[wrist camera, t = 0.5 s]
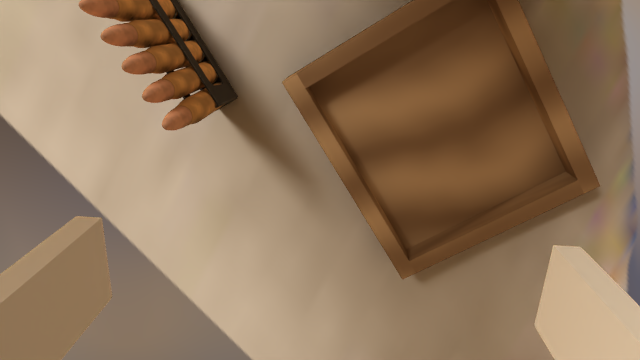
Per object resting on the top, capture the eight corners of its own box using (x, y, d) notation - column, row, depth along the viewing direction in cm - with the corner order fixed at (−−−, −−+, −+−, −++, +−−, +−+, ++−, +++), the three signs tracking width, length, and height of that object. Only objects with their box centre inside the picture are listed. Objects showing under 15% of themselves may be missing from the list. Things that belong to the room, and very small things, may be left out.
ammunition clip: (136, -18, 34) (30, -36, 23) (156, -32, 34) (59, -58, 22) (219, 109, 37) (161, 149, 25) (238, 97, 36) (188, 133, 25)
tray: (287, 77, 36) (282, 82, 33) (483, -44, 32) (496, -49, 29) (398, 260, 40) (402, 279, 37) (580, 172, 37) (600, 185, 34)
